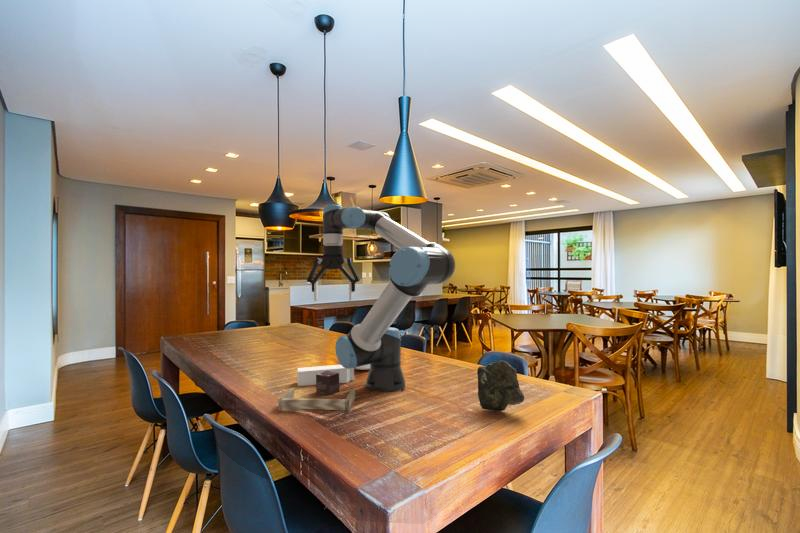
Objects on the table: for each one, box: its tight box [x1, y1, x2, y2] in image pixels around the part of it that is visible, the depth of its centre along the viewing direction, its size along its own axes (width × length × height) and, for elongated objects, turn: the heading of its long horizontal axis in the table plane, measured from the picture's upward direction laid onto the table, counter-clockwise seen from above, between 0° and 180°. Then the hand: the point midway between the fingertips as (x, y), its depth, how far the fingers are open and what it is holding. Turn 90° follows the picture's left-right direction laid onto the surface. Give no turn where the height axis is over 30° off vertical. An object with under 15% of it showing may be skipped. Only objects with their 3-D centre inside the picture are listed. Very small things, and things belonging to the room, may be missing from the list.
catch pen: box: [277, 387, 356, 414], centre depth 126 cm, size 22×11×4 cm, turn 86°
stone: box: [477, 359, 525, 412], centre depth 122 cm, size 15×10×15 cm
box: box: [315, 371, 340, 396], centre depth 139 cm, size 6×6×7 cm
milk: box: [297, 364, 355, 387], centre depth 152 cm, size 6×6×22 cm
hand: (333, 300), depth 149 cm, fingers open, 13 cm apart
